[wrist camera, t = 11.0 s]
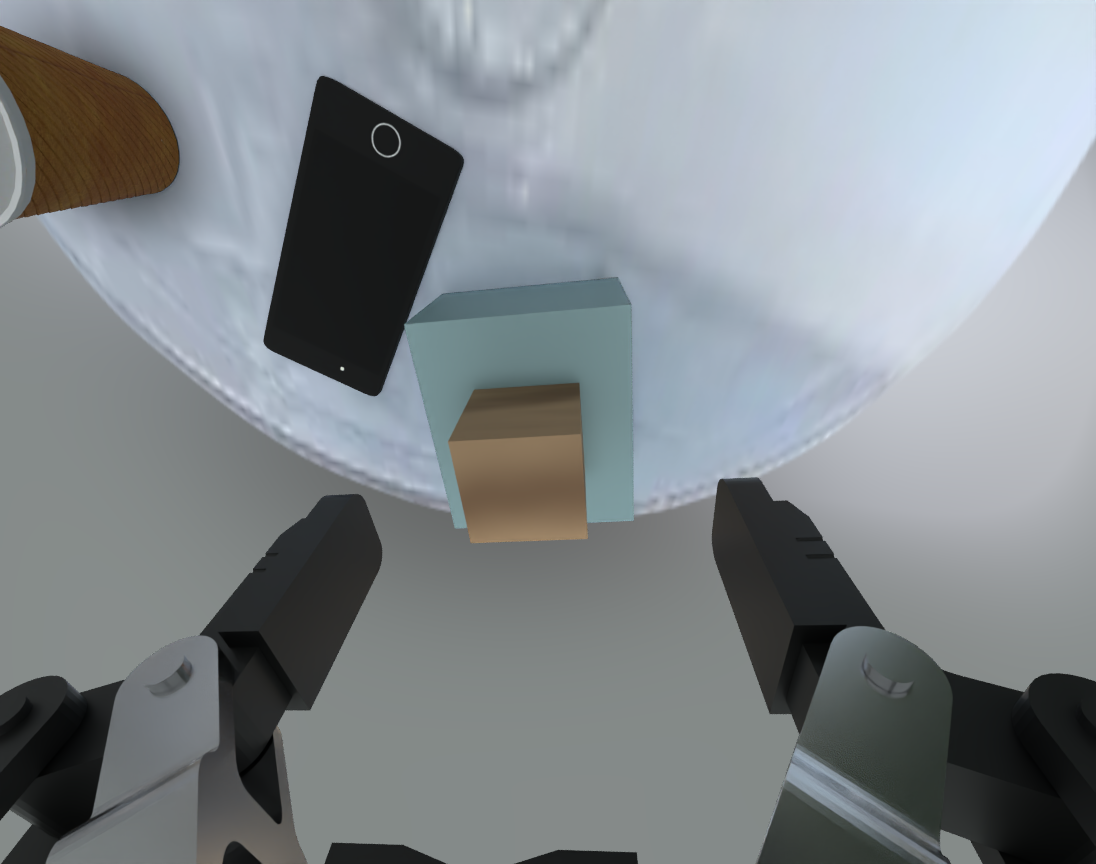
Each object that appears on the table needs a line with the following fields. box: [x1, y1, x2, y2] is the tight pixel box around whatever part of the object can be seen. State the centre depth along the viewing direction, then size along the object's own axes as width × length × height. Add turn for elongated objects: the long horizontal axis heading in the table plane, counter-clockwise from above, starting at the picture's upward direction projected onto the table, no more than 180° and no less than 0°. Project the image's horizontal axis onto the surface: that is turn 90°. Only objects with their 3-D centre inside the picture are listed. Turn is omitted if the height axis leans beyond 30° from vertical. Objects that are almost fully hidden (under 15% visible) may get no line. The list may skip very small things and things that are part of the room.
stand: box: [404, 278, 634, 528], centre depth 30 cm, size 14×12×8 cm
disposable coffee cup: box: [0, 26, 179, 228], centre depth 22 cm, size 10×10×12 cm
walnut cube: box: [448, 383, 588, 543], centre depth 24 cm, size 6×6×6 cm
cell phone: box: [264, 76, 464, 396], centre depth 30 cm, size 9×18×1 cm, turn 153°
